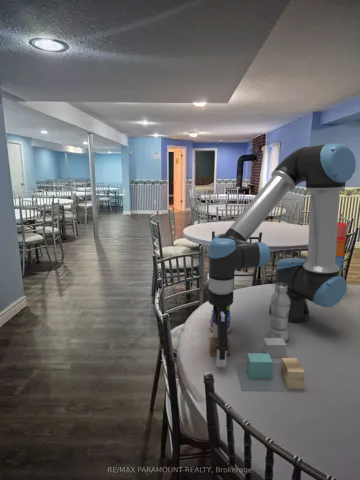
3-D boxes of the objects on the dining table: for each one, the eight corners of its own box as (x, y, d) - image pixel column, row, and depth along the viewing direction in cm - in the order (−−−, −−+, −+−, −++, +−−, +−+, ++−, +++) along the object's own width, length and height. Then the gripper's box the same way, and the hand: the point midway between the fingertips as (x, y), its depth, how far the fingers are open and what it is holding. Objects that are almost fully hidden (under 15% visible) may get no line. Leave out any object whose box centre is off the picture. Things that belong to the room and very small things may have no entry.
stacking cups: (320, 290, 146) (327, 220, 139) (342, 296, 139) (351, 222, 132) (311, 295, 139) (317, 222, 132) (334, 302, 132) (342, 225, 125)
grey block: (281, 352, 95) (282, 338, 94) (285, 359, 91) (286, 345, 90) (262, 352, 95) (263, 337, 94) (265, 359, 91) (266, 344, 90)
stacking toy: (231, 336, 105) (232, 285, 101) (208, 333, 106) (209, 284, 102) (231, 325, 112) (233, 278, 108) (210, 323, 114) (211, 276, 110)
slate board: (288, 365, 88) (289, 363, 88) (304, 394, 76) (304, 391, 76) (234, 364, 89) (234, 362, 88) (241, 393, 77) (241, 390, 77)
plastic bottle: (278, 347, 97) (282, 290, 93) (264, 338, 103) (267, 283, 99) (292, 342, 100) (297, 286, 96) (277, 333, 106) (281, 280, 102)
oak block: (280, 373, 83) (281, 357, 82) (294, 374, 83) (296, 358, 82) (287, 388, 77) (288, 371, 76) (302, 389, 77) (304, 372, 76)
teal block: (267, 369, 85) (268, 353, 84) (271, 378, 81) (272, 362, 80) (246, 369, 85) (247, 353, 84) (249, 378, 82) (250, 361, 81)
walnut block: (228, 351, 96) (228, 337, 95) (229, 359, 92) (230, 344, 91) (209, 351, 96) (209, 337, 95) (210, 359, 92) (210, 344, 91)
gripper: (205, 276, 101) (204, 333, 106) (211, 307, 77) (209, 380, 81) (228, 276, 101) (225, 333, 106) (240, 308, 77) (237, 380, 81)
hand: (218, 354), depth 94 cm, fingers open, 13 cm apart
